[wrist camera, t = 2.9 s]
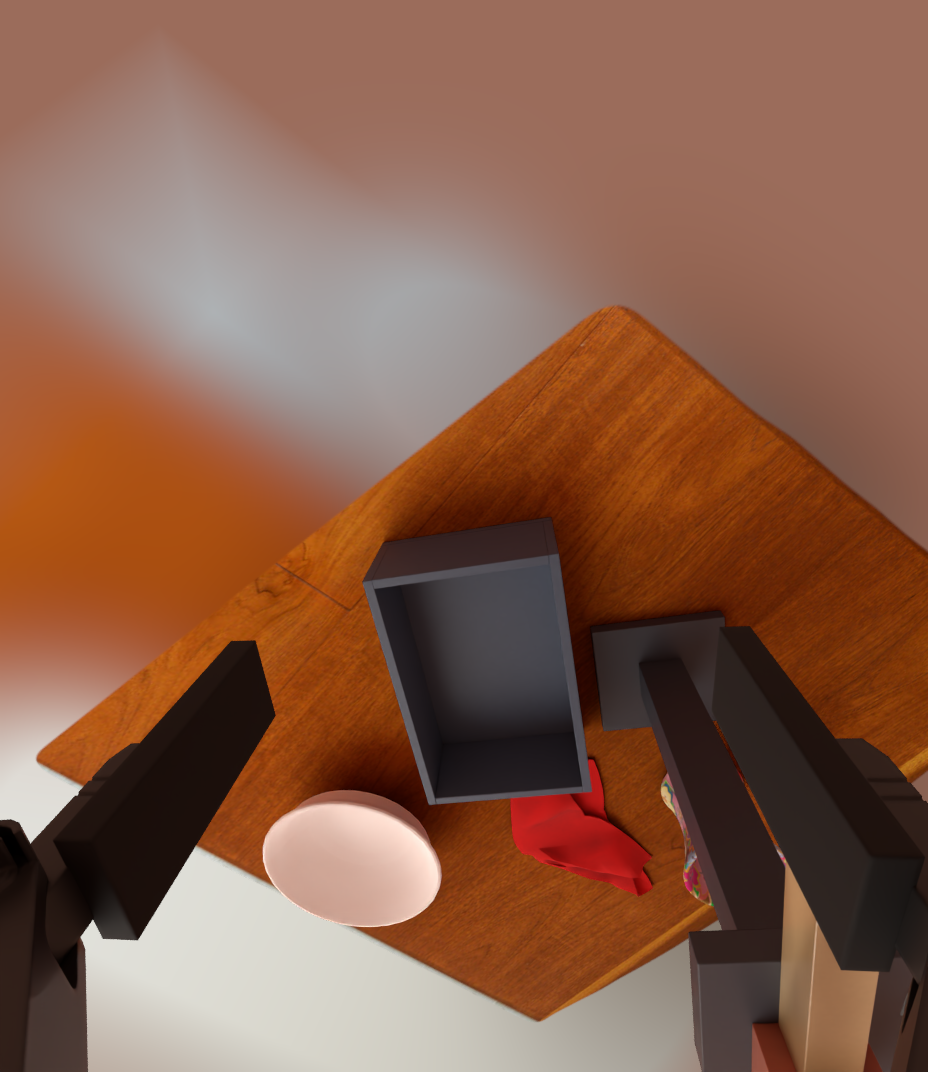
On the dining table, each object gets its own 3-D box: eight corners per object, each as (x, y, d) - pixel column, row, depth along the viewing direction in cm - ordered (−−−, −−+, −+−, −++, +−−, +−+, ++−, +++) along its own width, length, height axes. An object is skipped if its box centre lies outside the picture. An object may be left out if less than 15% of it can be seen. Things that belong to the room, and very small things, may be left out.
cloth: (467, 768, 60) (465, 784, 58) (582, 729, 57) (585, 745, 55) (561, 909, 68) (562, 928, 66) (666, 883, 65) (671, 902, 63)
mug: (757, 794, 58) (807, 892, 49) (676, 822, 61) (708, 920, 51) (713, 717, 55) (757, 806, 45) (629, 750, 57) (654, 841, 48)
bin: (551, 516, 48) (558, 553, 40) (581, 731, 57) (592, 792, 50) (382, 542, 50) (362, 581, 43) (438, 744, 59) (428, 805, 52)
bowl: (445, 881, 68) (440, 936, 62) (291, 867, 69) (271, 918, 63) (449, 763, 60) (443, 812, 54) (275, 748, 61) (251, 795, 55)
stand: (720, 610, 50) (954, 941, 24) (722, 711, 54) (921, 1084, 28) (590, 626, 52) (675, 952, 26) (601, 723, 56) (684, 1085, 30)
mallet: (894, 762, 20) (981, 862, 17) (850, 1074, 28) (901, 1189, 25) (754, 773, 21) (807, 872, 17) (751, 1075, 29) (786, 1186, 25)
